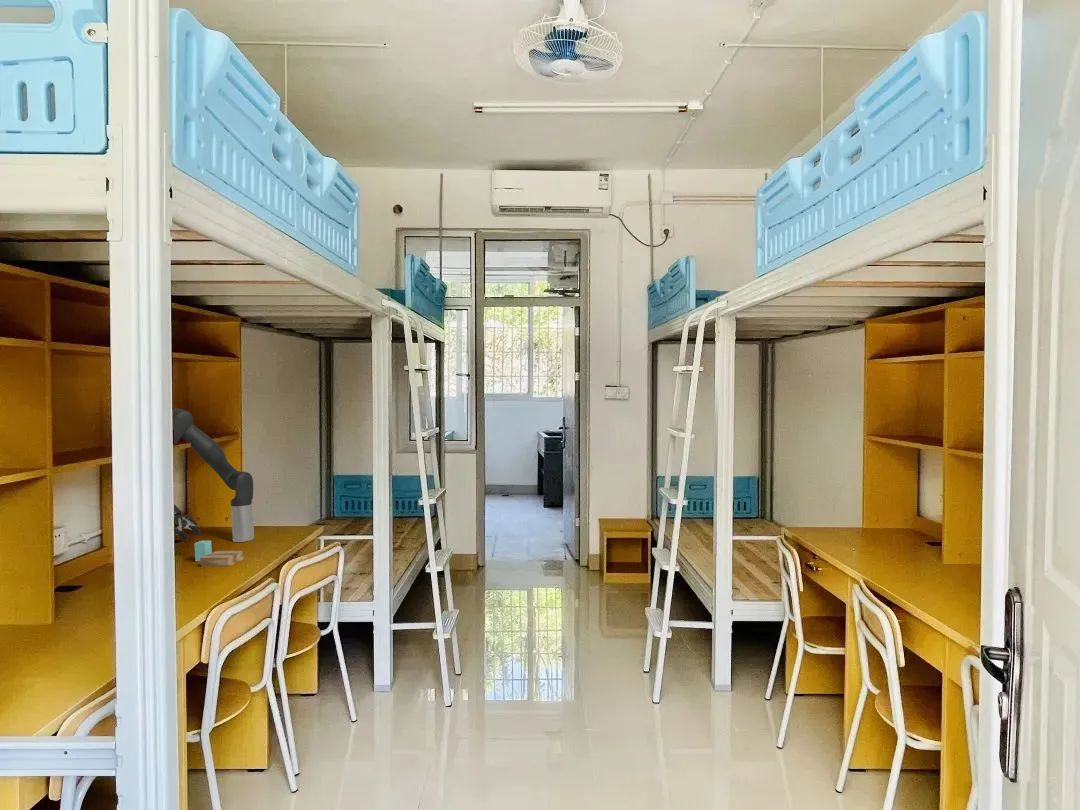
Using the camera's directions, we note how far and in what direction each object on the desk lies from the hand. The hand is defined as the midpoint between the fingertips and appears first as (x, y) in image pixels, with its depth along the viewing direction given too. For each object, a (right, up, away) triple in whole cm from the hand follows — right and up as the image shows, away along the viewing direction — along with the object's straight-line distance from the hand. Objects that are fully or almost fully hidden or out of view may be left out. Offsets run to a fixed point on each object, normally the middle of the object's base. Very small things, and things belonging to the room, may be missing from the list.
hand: (193, 536), depth 285 cm
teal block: (+5, -10, 0) cm, 11 cm away
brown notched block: (+15, -10, -5) cm, 19 cm away
